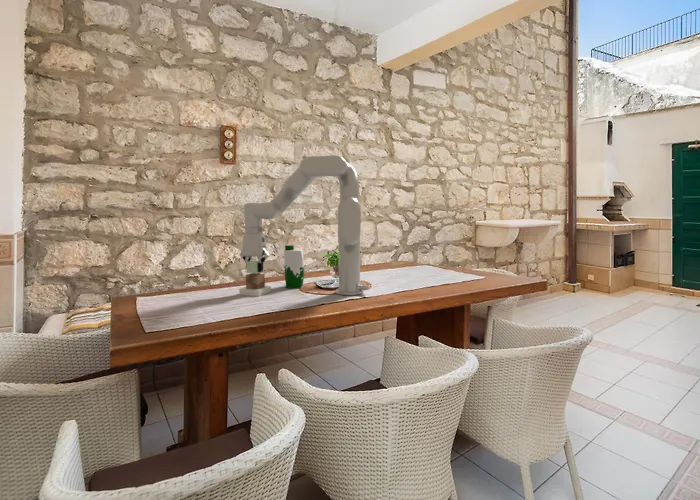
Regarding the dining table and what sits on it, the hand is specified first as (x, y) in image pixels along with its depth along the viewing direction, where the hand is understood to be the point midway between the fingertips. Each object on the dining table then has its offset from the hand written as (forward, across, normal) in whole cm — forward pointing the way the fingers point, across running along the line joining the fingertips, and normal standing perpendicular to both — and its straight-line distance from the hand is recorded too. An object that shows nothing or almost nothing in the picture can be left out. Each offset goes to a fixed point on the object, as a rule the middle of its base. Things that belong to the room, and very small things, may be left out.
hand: (254, 271), depth 182 cm
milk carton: (+10, -10, -19) cm, 24 cm away
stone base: (+10, 0, 0) cm, 10 cm away
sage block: (+1, 0, 0) cm, 1 cm away
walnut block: (+8, 0, 0) cm, 8 cm away
